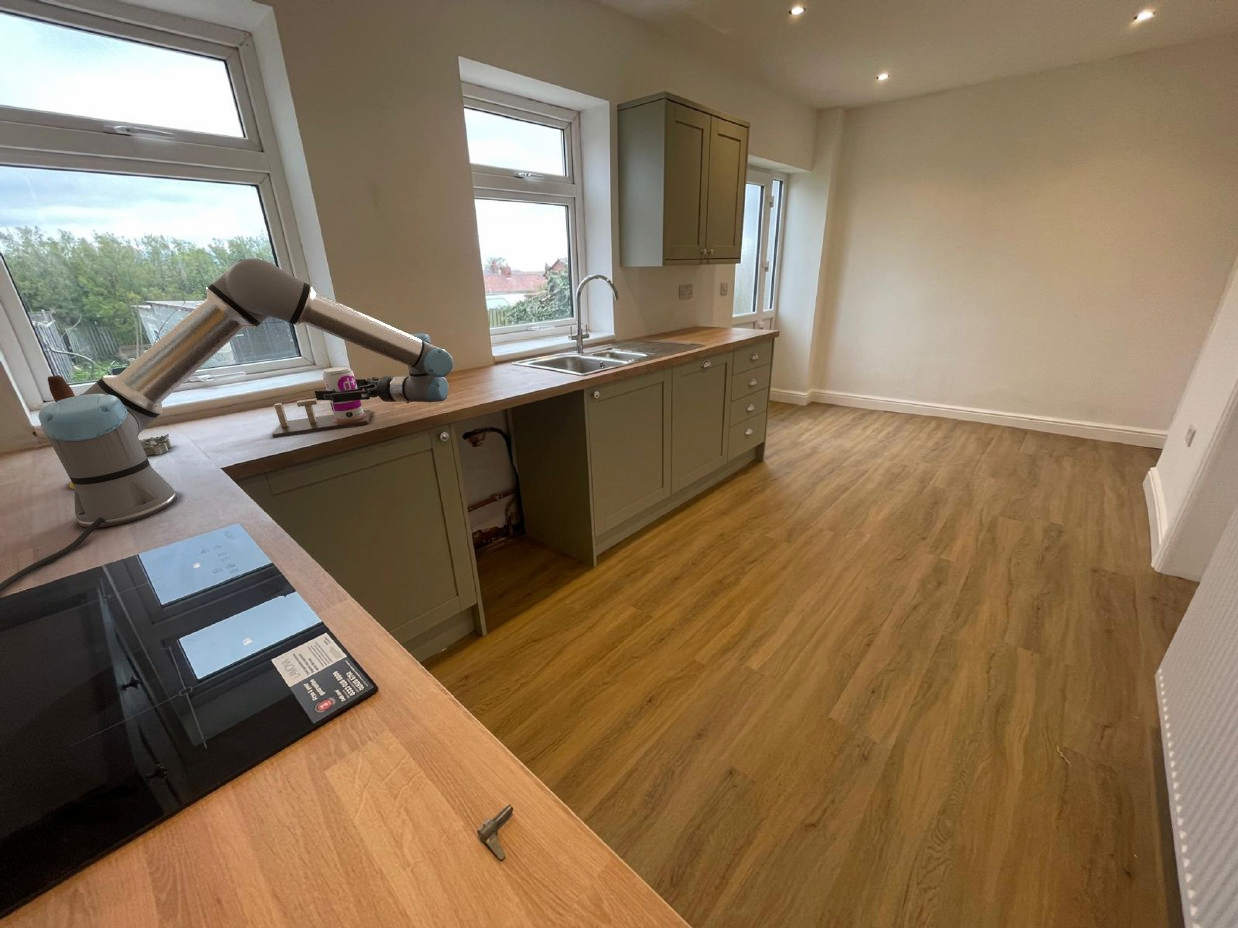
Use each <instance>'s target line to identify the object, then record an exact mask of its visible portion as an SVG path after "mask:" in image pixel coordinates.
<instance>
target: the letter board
mask: <svg viewBox="0 0 1238 928" xmlns="http://www.w3.org/2000/svg"><path fill="white" fill-rule="evenodd" d="M318 401H319V400H317V399H316V398H309V399H300V400H297V401H296V405H297V407H298V408H300V407H304V409H305V413H306V415H307V417H306V418H297V419H289V420H288V418H287V415H286V414H287V413H286V412H285V408H284V404H283V403H282V402H277V403H276V402H275V404H273V407H274V410H275V412H276V415H277V418H278V421H279V425H278V426H277V428H276V429H275V430H274V432H273V433H272V437H273V438H278V437H287V436H292V435H293V436H295V435H301V434H308V433H313V432H314V433H315V432H321V431H329V430H335V429H336V430H337V429H341V428H343V429H344V428H350V427H357V426H364V425H368V424H369V423H370V420H371V419H370V418H371V415H372V410H371V409H363V412H364V413H363V414H362V416H361V417H359V418H356V419H352V420H337V419H336V418H334V414H327V415H320V416H316V414H315V410H314V406H315V405H318V404H319V402H318Z"/></svg>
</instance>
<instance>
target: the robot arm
mask: <svg viewBox="0 0 1238 928" xmlns="http://www.w3.org/2000/svg"><path fill="white" fill-rule="evenodd" d="M205 291H206V298H205V300H204V301H203V302H201V303H200V304H199V305H198V306H197V307H196V308H194V309H193V310H192V311H191V312H190V313H189V314H188V315H186V316H185V317H184V318H183V319H182V320H181V321H179V322H178V323H176V325H175V326H174V327H173V328H171V329H170V330H169V331H168V332H167V333H166V334H165V335H163V336H162V337H161V338H160V339H159V340H157V341H156V342H155V343H154V344H153V345H152V346H150V347H149V348H148V349H147V350H146V351H145V352H143V353H142V354H141V355H140V356H139V357H137V358H136V360H134V361H133V362H132V363H131V364H130V365H128V366H127V367H126V368H125V369H124V370H123V371H122V372H120V373H119V374H116V375H114V374H113V375H103V376H102V377H100V378H99V379H98V380H97V381H96V382H95V383H94V384H92V385H91V386H90V387H89V388H88V389H87V390H86V391H84V392H83V393H81V394H79V395H75V397H70V398H66V399H62V400H59V401H57V402H51V403H49V404H47V405H45V406H43V407H42V408H41V409H40V411H39V412H38V414H37V415H38V420H39V423H40V428H41V430H42V431H43V433H44V434H45V435H46V437H47V439H48V440H49V443H50V444H51V446H52V448H53V450H54V452H55V454H56V456H57V457H58V459H59V461H60V463H61V465H62V466H63V468H64V471H65V472H66V474H67V476H68V478H69V480H70V481H72V483H73V486H74V489H73V491H74V514H75V518H76V520H77V522H78V524H79V526H80V527H82V528H86V529H85V530H84V531H82V532H81V534H79V536H78V537H77V538H76V539H75V540H74V541H73V542H71V543H70V544H69V545H67V546H66V547H64V548H62V549H60V550H58V551H57V552H55V553H52V554H51V555H49V556H46V557H44V558H42V559H40V560H37V561H36V562H33V563H32V564H30V565H28V566H26V567H24V568H23V569H21V570H19V571H16V573H14V574H12V575H11V576H9V577H8V578H6V579H5V580H3V581H2V582H0V592H2V591H3V590H5V589H6V588H7V587H9V586H10V585H12V584H14V583H15V582H16V581H18V580H19V579H21V578H22V577H25V576H26V575H28V574H29V573H31V572H33V571H34V570H36V569H38V568H40V567H42V566H45V565H46V564H49V563H51V562H53V561H55V560H57V559H59V558H61V557H63V556H64V555H67V554H69V552H71V551H73V550H75V549H76V548H77V547H79V546H80V545H81V544H82V543H84V541H85V540H86V539H87V538H88V537H89V536H90V535H91V534H92V533H93V532H94V531H96V529H102V528H109V527H114V526H115V527H116V526H120V525H123V524H128V523H131V522H134V521H138V520H142V519H144V518H147V517H150V516H153V515H154V514H157V513H159V512H161V511H163V510H165V509H167V508H168V507H170V506H172V504H174V503H175V502H176V501H177V499H178V495H177V493H176V491H175V489H174V488H173V486H172V485H170V484H169V483H168V481H166V480H165V478H164V477H162V476H161V475H160V474H159V473H158V472H157V471H156V470H155V469H154V468H153V467H152V465H151V463H150V461H149V458H148V456H146V454H145V452H144V450H143V447H142V445H141V443H140V441H139V440H140V439H139V434H141V433H142V431H143V430H145V429H146V428H147V427H148V426H150V424H152V423H153V421H155V420H156V419H157V418H158V417H159V416H160V415H161V414H162V413H163V412H164V410H163V409H164V408H163V404H162V403H163V401H165V400H166V399H167V398H168V397H169V396H170V395H171V394H172V393H174V392H175V391H176V390H177V389H178V388H179V387H181V386H182V385H183V384H184V382H186V381H187V380H188V379H189V378H190V377H191V376H192V375H193V374H195V373H196V372H197V371H198V370H199V369H201V367H202V366H204V365H205V364H206V363H207V362H208V361H209V360H210V359H212V357H214V356H216V354H217V353H218V352H219V351H220V350H221V349H223V347H225V346H226V345H227V344H228V343H229V342H231V341H232V339H234V338H235V337H236V336H237V335H238V334H240V333H241V331H243V330H244V329H247V328H248V329H257V328H258V327H259V326H260V325H261V324H262V323H263V322H264V321H265V320H267V319H268V318H269V317H270V318H274V319H278V320H281V321H284V322H287V323H289V324H292V325H295V326H298V325H302V324H304V325H307V326H309V327H311V328H314V329H316V330H319V331H321V332H323V333H326V334H328V335H331V336H333V337H336V338H339V339H341V340H343V341H346V342H349V343H351V344H354V345H355V346H359V347H360V348H363V349H365V350H368V351H371V352H373V353H376V354H378V355H381V356H383V357H385V358H388V359H391V360H393V361H396V362H398V363H401V364H403V365H406V367H407V370H408V375H398V376H397V375H396V376H394V375H393V376H392V375H390V376H389V375H388V376H387V375H386V376H381V377H378V376H377V377H376V376H372V377H371V378H355V381H356V385H357V389H350V390H344V391H337V392H336V391H335V389H333V390H332V391H327V390H314V395H315V399H317V401H330V400H332V401H333V403H337V402H346V401H355V400H361V401H365V400H370V399H371V398H372V399H373V398H379V399H380V400H381V401H382V402H385V403H404V402H405V403H406V404H410V403H415V402H416V403H437V402H438V403H440V402H444V401H446V399H447V398H448V397H449V394H450V393H449V392H450V385H449V383H448V381H447V378H446V377H447V376H448V375H450V373H451V372H452V371H453V368H454V358H453V356H452V355H451V353H449V351H447V350H446V349H444V348H442V347H439V346H436V345H434V344H433V343H432V340H431V337H430V335H429V334H427V333H411V334H409V333H407V332H405V331H402V330H400V329H398V328H396V327H394V326H392V325H389V324H388V323H385V322H383V321H380V320H378V319H375V318H373V317H372V316H370V315H367V314H366V313H365V314H364V313H363V312H360V311H358V310H356V309H354V308H352V307H349V306H347V305H345V304H342V303H340V302H338V301H336V300H334V299H331V298H329V297H327V296H325V295H323V294H321V293H319V292H316V291H315V290H314V288H313V286H312V285H311V284H309V283H307V282H304V281H303V280H301V279H299V278H297V277H296V276H293V275H292V274H290V273H288V272H286V271H285V270H284V269H282V268H280V267H278V266H276V265H275V264H274V263H272V262H270V261H267V260H264V259H261V258H242V259H239V260H236V261H234V262H233V263H231V264H230V265H229V266H228V267H227V269H226V271H224V272H223V273H222V274H221V275H220V276H218V277H217V278H216V279H215V280H213V282H211V283H210V284H209V285H208V286H207V287H206V288H205Z"/></svg>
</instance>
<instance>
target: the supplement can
mask: <svg viewBox="0 0 1238 928" xmlns="http://www.w3.org/2000/svg"><path fill="white" fill-rule="evenodd" d="M322 378H323V382H324V386H325V391H332V390H333V389H335V391H336V392H337V391H344V390H350V389H357V385H356V381H355V379H356V378H355V374H354V371H353V370H352V368H351V367H350V366H347V365H342V366H334V367H328V368H325V369H324V370H323V373H322ZM329 404H330V407H331V411H332V415H334V418H336V419H337V420H352V419H356V418H359V417H361V416H362V414H363V413H364V412H363V411H364V409H363V405H362V400H355V401H346V402H337V403H333V401H332V400H329Z"/></svg>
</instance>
